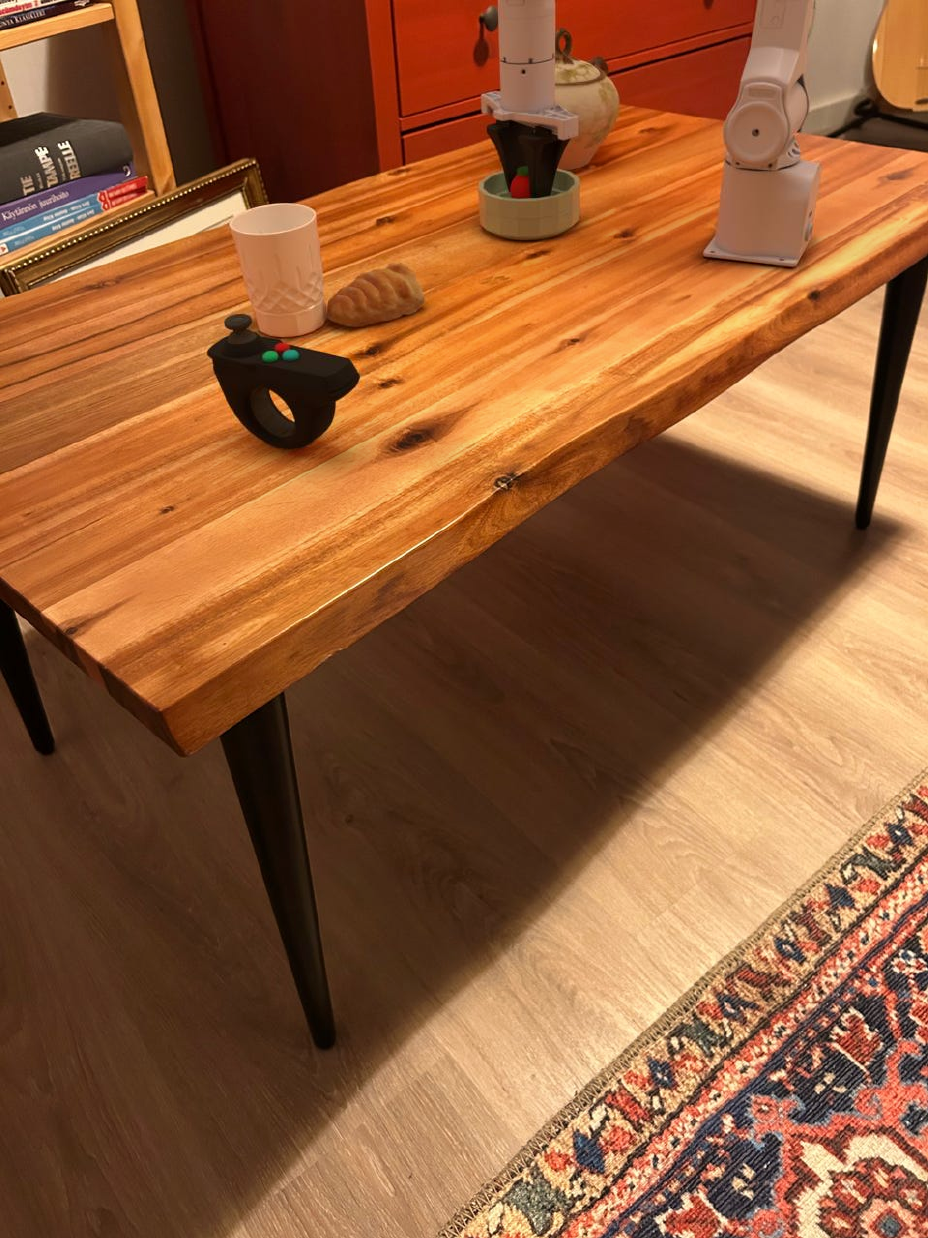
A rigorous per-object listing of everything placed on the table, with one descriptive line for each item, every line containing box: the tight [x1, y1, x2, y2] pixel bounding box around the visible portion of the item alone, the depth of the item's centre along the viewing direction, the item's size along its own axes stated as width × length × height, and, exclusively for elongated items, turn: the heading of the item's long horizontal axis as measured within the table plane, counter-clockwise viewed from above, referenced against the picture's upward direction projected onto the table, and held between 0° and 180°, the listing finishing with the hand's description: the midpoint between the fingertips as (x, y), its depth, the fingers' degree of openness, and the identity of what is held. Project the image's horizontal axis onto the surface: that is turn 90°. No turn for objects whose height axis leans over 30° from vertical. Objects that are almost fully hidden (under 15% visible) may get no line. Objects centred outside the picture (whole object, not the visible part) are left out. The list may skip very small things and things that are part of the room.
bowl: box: [477, 168, 581, 241], centre depth 109 cm, size 11×11×4 cm
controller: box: [206, 313, 361, 451], centre depth 74 cm, size 4×12×10 cm, turn 62°
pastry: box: [326, 262, 425, 329], centre depth 94 cm, size 9×7×4 cm
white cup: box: [228, 202, 328, 338], centre depth 91 cm, size 8×8×10 cm
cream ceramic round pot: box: [534, 27, 621, 171], centre depth 122 cm, size 20×15×15 cm
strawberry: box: [510, 166, 531, 199], centre depth 108 cm, size 4×4×4 cm
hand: (528, 194), depth 108 cm, fingers closed on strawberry, 4 cm apart
